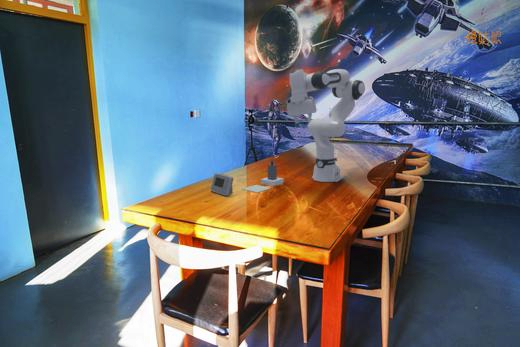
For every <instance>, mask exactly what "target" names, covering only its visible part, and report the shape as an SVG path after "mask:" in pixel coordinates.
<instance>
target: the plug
mask: <svg viewBox="0 0 520 347" xmlns="http://www.w3.org/2000/svg"><path fill="white" fill-rule="evenodd" d="M277 173H278V166H277V163H276V164H275V163H274V159H270V164H267V177H268V179H269V180H275V179H277V177H278V174H277Z"/></svg>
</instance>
